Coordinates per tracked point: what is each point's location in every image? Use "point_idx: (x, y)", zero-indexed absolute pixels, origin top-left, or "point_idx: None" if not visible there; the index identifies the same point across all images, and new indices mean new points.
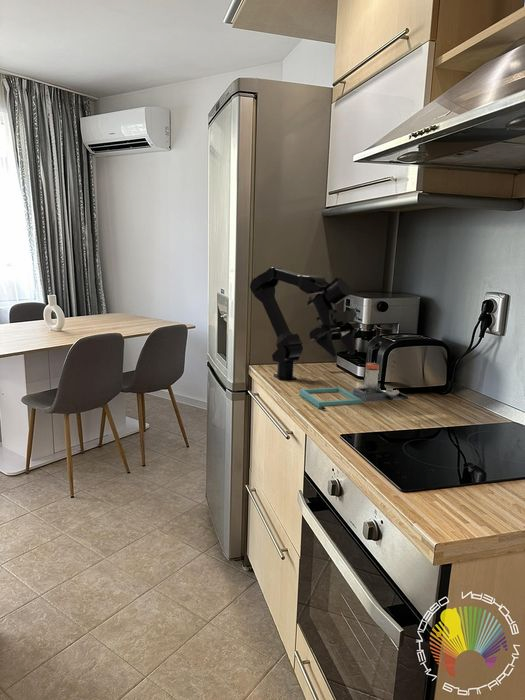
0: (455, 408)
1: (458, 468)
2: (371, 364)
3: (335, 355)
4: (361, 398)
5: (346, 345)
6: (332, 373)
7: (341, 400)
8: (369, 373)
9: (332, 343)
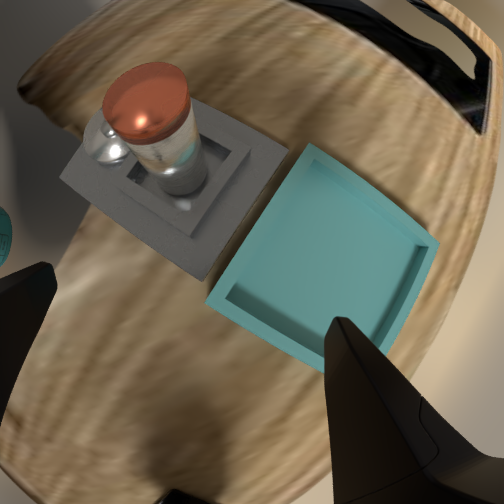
0: (130, 18)
1: (416, 7)
2: (158, 92)
3: (348, 321)
4: (250, 172)
5: (10, 372)
6: (22, 420)
7: (374, 196)
8: (193, 116)
9: (408, 419)
